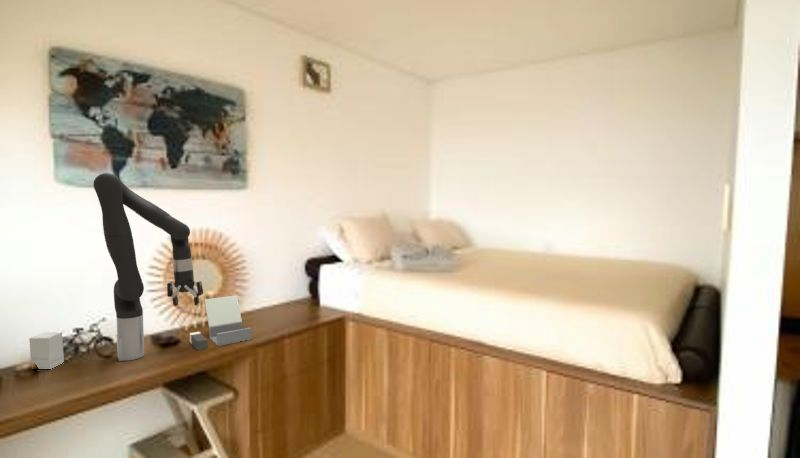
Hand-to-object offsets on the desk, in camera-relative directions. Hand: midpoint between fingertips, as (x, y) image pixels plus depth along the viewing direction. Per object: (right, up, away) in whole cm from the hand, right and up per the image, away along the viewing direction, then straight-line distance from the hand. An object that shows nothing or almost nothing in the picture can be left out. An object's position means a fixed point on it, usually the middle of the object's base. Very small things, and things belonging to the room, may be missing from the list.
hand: (186, 305), depth 191 cm
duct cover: (+8, -6, +20) cm, 22 cm away
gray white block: (+3, -19, +4) cm, 19 cm away
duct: (+14, -18, +13) cm, 26 cm away
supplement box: (-43, -20, -21) cm, 52 cm away
